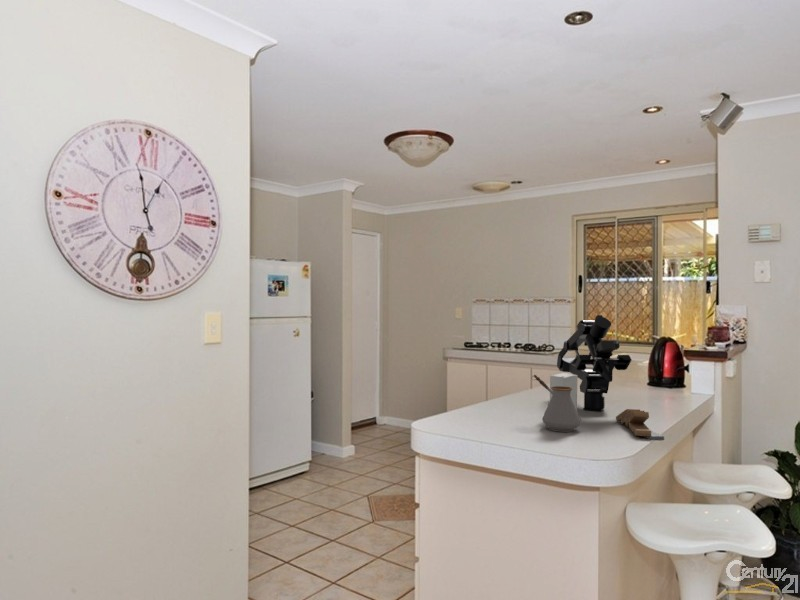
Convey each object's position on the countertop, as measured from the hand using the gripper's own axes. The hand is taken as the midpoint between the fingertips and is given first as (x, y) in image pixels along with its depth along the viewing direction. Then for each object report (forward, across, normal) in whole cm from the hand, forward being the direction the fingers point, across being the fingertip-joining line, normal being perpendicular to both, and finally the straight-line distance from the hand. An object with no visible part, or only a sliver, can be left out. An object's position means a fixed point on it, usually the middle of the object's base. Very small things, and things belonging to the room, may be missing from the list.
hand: (610, 381), depth 187 cm
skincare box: (+9, -17, +9) cm, 21 cm away
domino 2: (+17, 0, 0) cm, 17 cm away
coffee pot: (+18, -25, +1) cm, 31 cm away
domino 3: (+19, -1, -3) cm, 20 cm away
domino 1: (+13, +1, +3) cm, 14 cm away
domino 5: (+23, -1, -5) cm, 24 cm away
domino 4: (+22, -2, -6) cm, 23 cm away
